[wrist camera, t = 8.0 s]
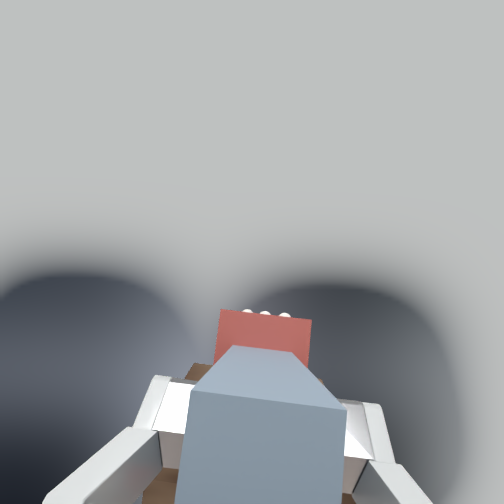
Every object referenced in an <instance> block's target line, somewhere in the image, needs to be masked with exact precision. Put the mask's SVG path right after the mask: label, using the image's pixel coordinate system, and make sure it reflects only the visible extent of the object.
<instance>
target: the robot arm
mask: <svg viewBox="0 0 504 504" xmlns="http://www.w3.org/2000/svg"><path fill="white" fill-rule="evenodd" d="M197 382H198V381H193V380H187V379H179V378H173V377H167V376H159V375H155V376H154V378H153V379H152V381H151V383H150V385H149V388H148V390H147V393H146V395H145V398H144V400H143V403H142V405H141V407H140V410H139V412H138V415H137V417H136V420H135V422H134V425H133V427H126V428H125V429H124V430H123V431H122V432H120V433H119V434H118V435H117V436H116V437H115V438H113V439H112V440H111V441H110V442H109V443H108V444H106V445H105V446H104V447H103V448H102V449H100V451H98V452H97V453H96V454H94V455H93V456H92V457H91V458H90V459H89V460H87V461H86V462H85V463H84V464H83V465H82V466H80V467H79V468H78V469H77V470H76V471H74V473H72V474H71V475H70V476H68V477H67V478H66V479H65V480H64V481H63V482H61V483H60V484H59V485H58V486H57V487H55V488H54V489H53V490H52V491H51V492H50V493H48V494H47V495H46V498H45V499H44V501H43V503H42V504H133V503H134V502H135V500H136V499H137V498H138V497H139V496H140V495H141V494H142V492H143V491H144V490H145V489H146V488H147V487H148V485H149V484H150V483H151V482H152V481H153V480H154V478H155V477H156V476H157V475H158V474H159V473H160V471H161V470H162V467H164V468H173V469H179V466H180V459H181V452H182V445H183V438H184V431H185V424H186V417H187V410H188V403H189V396H190V390H191V389H192V388H193V387H194V386H195V385H196V383H197ZM337 400H338V401H339V402H340V403H341V404H342V405H343V406H344V407H345V408H346V410H347V422H346V438H345V454H344V470H343V486H342V493H347V494H353V495H352V497H353V499H354V501H355V503H356V504H433V503H432V502H431V501H430V500H429V498H427V496H426V495H425V494H424V492H423V491H422V490H421V489H420V487H419V486H418V485H417V484H416V482H415V481H414V480H413V479H412V478H411V476H410V475H409V474H408V473H407V471H406V470H405V469H404V468H403V466H402V465H400V464H396V463H395V459H394V455H393V451H392V447H391V444H390V440H389V436H388V431H387V427H386V423H385V419H384V415H383V412H382V408H381V407H380V405H379V404H373V403H364V402H360V401H352V400H344V399H337Z"/></svg>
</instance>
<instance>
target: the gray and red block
mask: <svg viewBox="0 0 504 504" xmlns="http://www.w3.org/2000/svg"><path fill="white" fill-rule="evenodd" d="M310 333H311V320H308V319H300V318H291V317H290V315H288V314H287V313H282V314H280V315H279V316H274V315H271V314H270V313H269V312H267V311H263V312H261V313H260V314H257V313H253V312H252V311H251V310H247V309H246V310H244V311H242V312H241V311H232V310H224V309H221V312H220V319H219V327H218V334H217V342H216V349H215V357H214V364H213V367H212V368H211V369H210V370H209V371H208V372H207V373H206V374H205V375H204V376H203V377H202V378H201V379H200V380H199V381H198V382H197V383H196V385H195V386H194V387H193V388H192V389H191V390H190V396H189V403H188V410H187V417H186V424H185V431H184V438H183V445H182V452H181V459H180V466H179V473H178V480H177V487H176V494H175V501H174V504H341V502H342V486H343V470H344V454H345V438H346V422H347V410H346V408H345V407H344V406H343V405H342V404H341V403H340V402H339V401H338V400H337V399H336V398H335V397H334V396H333V395H332V394H331V393H330V392H329V391H328V390H327V389H326V388H325V387H324V385H323V384H322V383H321V382H320V381H319V380H318V379H317V378H316V377H315V376H314V375H313V374H312V373H311V372H310V371H309V370H308V369H307V368H308V356H309V344H310Z"/></svg>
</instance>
